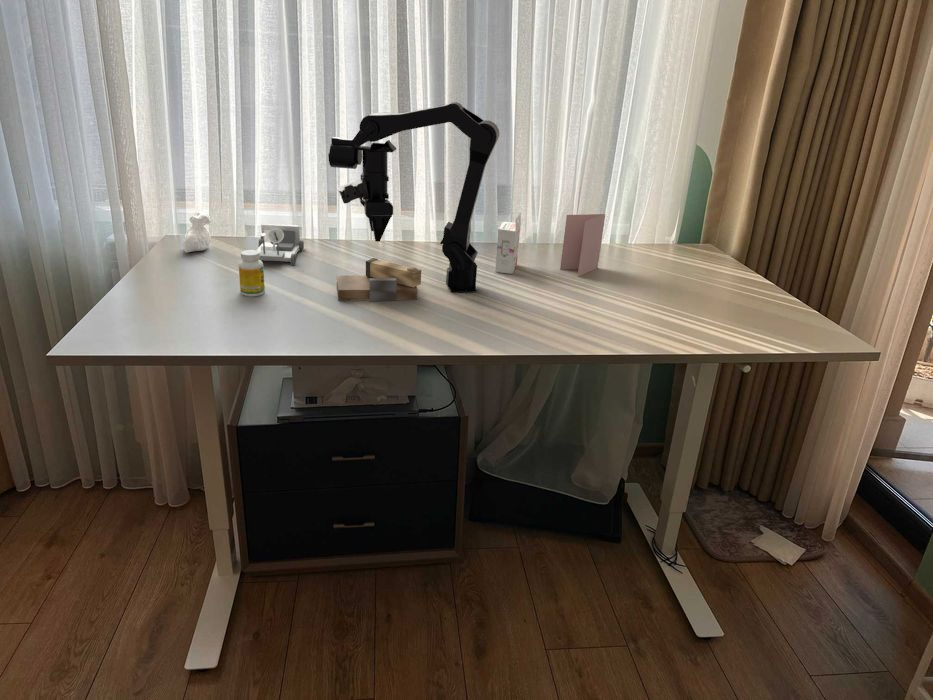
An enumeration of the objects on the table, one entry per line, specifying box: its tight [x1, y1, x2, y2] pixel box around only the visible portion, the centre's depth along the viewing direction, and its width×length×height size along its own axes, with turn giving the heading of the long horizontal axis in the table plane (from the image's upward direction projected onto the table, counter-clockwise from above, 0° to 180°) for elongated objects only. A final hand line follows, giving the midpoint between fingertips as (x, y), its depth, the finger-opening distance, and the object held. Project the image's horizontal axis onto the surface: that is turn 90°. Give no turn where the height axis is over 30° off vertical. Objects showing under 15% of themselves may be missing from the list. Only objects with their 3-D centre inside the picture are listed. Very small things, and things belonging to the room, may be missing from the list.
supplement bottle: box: [238, 249, 265, 297], centre depth 160 cm, size 5×5×10 cm
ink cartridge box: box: [494, 212, 522, 275], centre depth 187 cm, size 9×5×15 cm, turn 168°
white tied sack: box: [182, 210, 212, 253], centre depth 187 cm, size 12×8×11 cm
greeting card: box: [559, 213, 606, 277], centre depth 189 cm, size 11×7×15 cm, turn 108°
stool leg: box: [365, 257, 422, 287], centre depth 167 cm, size 14×3×4 cm, turn 62°
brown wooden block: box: [336, 275, 419, 302], centre depth 166 cm, size 18×11×5 cm, turn 102°
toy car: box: [256, 223, 305, 266], centre depth 185 cm, size 18×10×12 cm
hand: (375, 236), depth 172 cm, fingers open, 9 cm apart
